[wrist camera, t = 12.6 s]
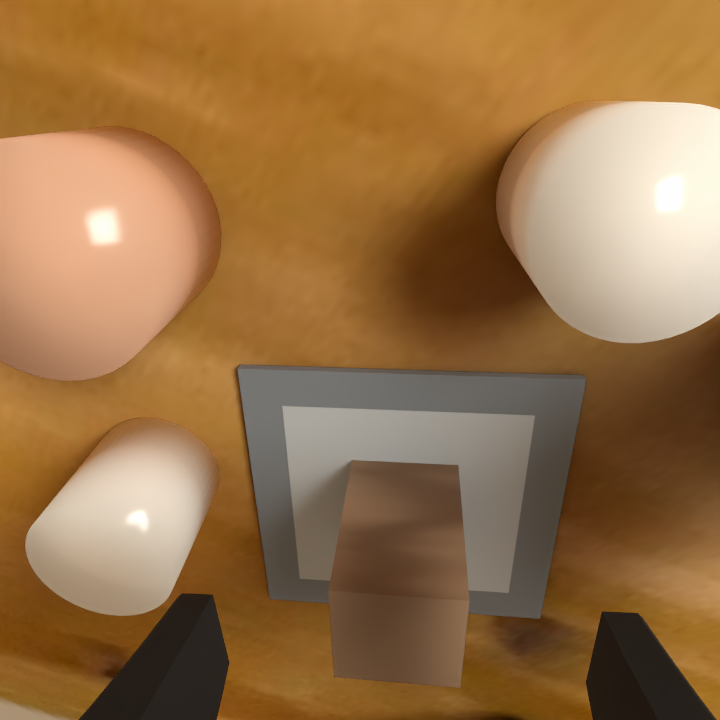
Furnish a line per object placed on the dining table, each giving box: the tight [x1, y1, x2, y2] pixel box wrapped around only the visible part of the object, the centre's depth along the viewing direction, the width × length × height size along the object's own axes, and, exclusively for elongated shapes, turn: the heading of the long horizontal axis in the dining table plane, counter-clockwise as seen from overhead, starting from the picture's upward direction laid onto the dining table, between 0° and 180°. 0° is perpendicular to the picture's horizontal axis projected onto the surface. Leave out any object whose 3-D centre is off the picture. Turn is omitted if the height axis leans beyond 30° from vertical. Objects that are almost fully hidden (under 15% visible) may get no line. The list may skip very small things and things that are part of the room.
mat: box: [237, 365, 586, 619], centre depth 22 cm, size 12×12×1 cm
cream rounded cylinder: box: [496, 100, 720, 343], centre depth 14 cm, size 5×5×5 cm
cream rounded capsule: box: [25, 418, 220, 616], centre depth 21 cm, size 5×5×5 cm
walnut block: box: [328, 460, 469, 688], centre depth 20 cm, size 4×4×6 cm
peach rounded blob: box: [0, 126, 221, 381], centre depth 16 cm, size 6×6×5 cm
